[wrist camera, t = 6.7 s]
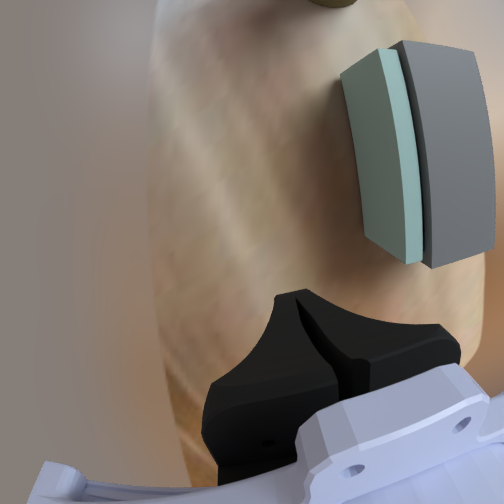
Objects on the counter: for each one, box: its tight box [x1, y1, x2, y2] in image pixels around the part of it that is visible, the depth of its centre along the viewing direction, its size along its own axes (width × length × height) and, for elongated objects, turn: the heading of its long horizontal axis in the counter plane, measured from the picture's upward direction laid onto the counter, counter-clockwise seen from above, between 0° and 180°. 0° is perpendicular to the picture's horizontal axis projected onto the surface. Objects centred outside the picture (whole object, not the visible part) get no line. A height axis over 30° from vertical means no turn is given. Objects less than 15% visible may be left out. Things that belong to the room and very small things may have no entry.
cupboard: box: [388, 40, 496, 269], centre depth 17 cm, size 13×6×7 cm, turn 11°
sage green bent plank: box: [340, 49, 423, 265], centre depth 17 cm, size 12×1×6 cm, turn 11°
